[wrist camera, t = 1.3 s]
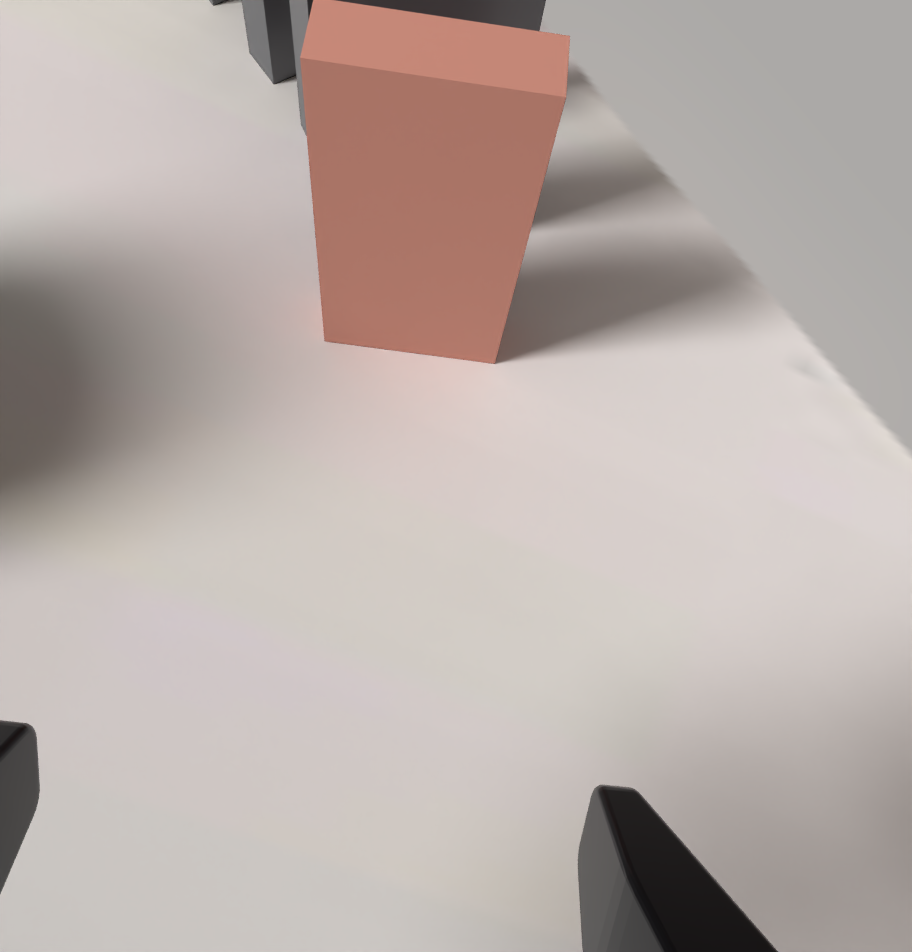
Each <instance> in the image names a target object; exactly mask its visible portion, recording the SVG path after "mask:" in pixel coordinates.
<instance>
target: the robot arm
mask: <svg viewBox="0 0 912 952" xmlns="http://www.w3.org/2000/svg"><path fill="white" fill-rule="evenodd" d="M39 792H40V784H39V768H38V751H37V737H36V732H35V730H34V728H33V727H32V726H31V725H29V724H27V723H20V722H11V721H1V720H0V893H1V891H2V889H3V886H4V884H5V882H6V879H7V877H8V875H9V872H10V870H11V868H12V865H13V863H14V861H15V858H16V856H17V854H18V851H19V849H20V847H21V844H22V842H23V840H24V837H25V835H26V833H27V830H28V828H29V825H30V823H31V821H32V818H33V816H34V813H35V811H36V807H37V804H38V799H39ZM578 879H579V896H580V913H581V930H582V946H583V952H778V951H777V950H776V949H775V948H774V947H773V945H772V944H771V943H770V942H769V941H768V940H767V938H766V937H765V936H764V935H763V934H762V933H761V932H760V930H759V929H758V928H757V927H756V926H755V925H754V924H753V922H752V921H751V920H750V919H749V918H748V917H747V916H746V914H745V913H744V912H743V911H742V910H741V909H740V908H739V906H738V905H737V904H736V903H735V902H734V901H733V900H732V898H731V897H730V896H729V895H728V894H727V893H726V892H725V890H724V889H723V888H722V887H721V886H720V885H719V883H718V882H717V881H716V880H715V879H714V878H713V877H712V875H711V874H710V873H709V872H708V871H707V870H706V869H705V867H704V866H703V865H702V864H701V863H700V862H699V861H698V859H697V858H696V857H695V856H694V855H693V854H692V853H691V851H690V850H689V849H688V848H687V847H686V846H685V845H684V843H683V842H682V841H681V840H680V839H679V838H678V837H677V835H676V834H675V833H674V832H673V831H672V830H671V828H670V827H669V826H668V825H667V824H666V823H665V822H664V820H663V819H662V818H661V817H660V816H659V815H658V814H657V812H656V811H655V810H654V809H653V808H652V807H651V806H650V804H649V803H648V802H647V801H646V800H645V799H644V798H643V796H642V795H641V794H640V793H639V792H638V791H636V790H635V789H633V788H629V787H620V786H610V785H599V786H597V787H596V788H595V789H594V791H593V793H592V796H591V799H590V804H589V808H588V812H587V816H586V820H585V824H584V828H583V833H582V837H581V841H580V846H579V853H578Z"/></svg>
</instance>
